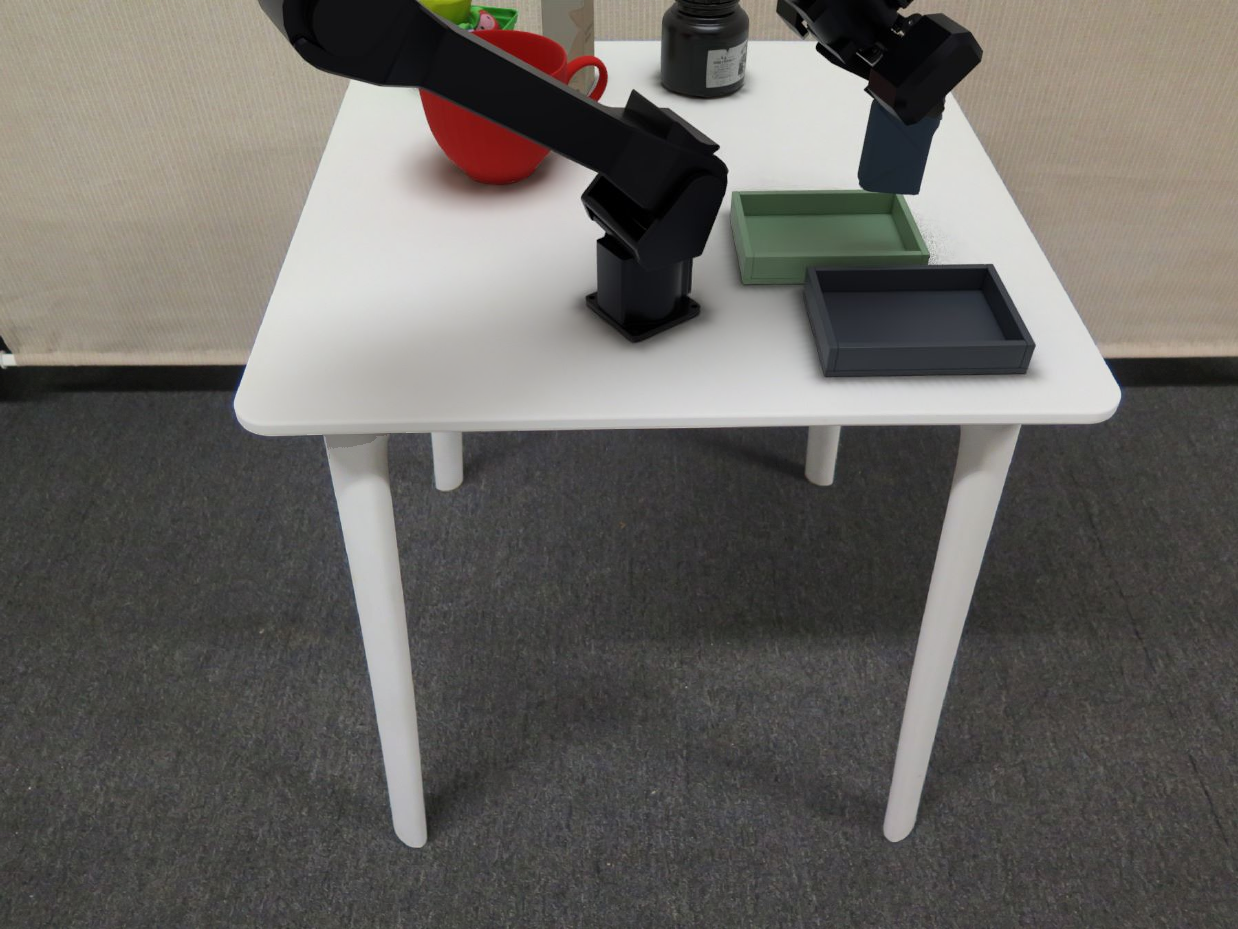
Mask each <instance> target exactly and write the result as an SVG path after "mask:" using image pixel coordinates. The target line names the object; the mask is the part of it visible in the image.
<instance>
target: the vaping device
mask: <svg viewBox="0 0 1238 929" xmlns="http://www.w3.org/2000/svg"><path fill="white" fill-rule="evenodd" d="M946 98H947V95H946V96H945V97H944V98H943V102H944V106H945V104H946V101H947V100H946ZM867 118H868V119H867V123H866V129H865V134H864V139H863V144H862V149H861V155H860V159H859V164H858V169H857V173H856V174H857V179H858V186H859V187H860V188H861V190H866V191H869V192H878V193H889V194H901V195H903V196H918V195H919V194H920V192H921V186H922V183H923V178H924V174H925V170H926V166H927V162H928V158H929V154H930V151H931V150H930V149H931V146H932V142H933V138H934V135H935V133H936V132H937V130H938V129H939V127H940V124H941V121H942V120H943V113H942V114H941V115H939V116H938V117H937V118H936V119H935V120H931V119H928V118H925V117H924V118H922V119H921V120H920V121H919V122H918V123H917V124H913V125H909V126H905V125H904V124H903V123H902V122H901V121H899V120H898V119H897V118H896V117H895V116H893V115H892V114H891V113H890V112H889V111H887V110H886V109H885V108H884V107H883V106H882V105H881V104H879V103H878V102H877V101H876V100H875V99H873V98H872V101H871V103H870V109H869V113H868V117H867Z"/></svg>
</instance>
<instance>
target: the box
mask: <svg viewBox="0 0 1238 929" xmlns="http://www.w3.org/2000/svg"><path fill="white" fill-rule="evenodd" d="M594 3H595V2H594V0H540V10H541V11H540V12H541V29H542V36H544V37H547V38H549V39H551V40H553V41H555V42H557V43H558V44H559V45H560V46H562V47H563V49H564V51H565V52H566V54H567V64H568V63H569V62H570V61H572V60H574V59H576V58H578V57H581V56H595V6H594V5H595V4H594ZM595 80H596V66H586V67H583V68H581V69H580V70H578V71H577V72H576V73H575V74H574V75H573V76H572V78H571V79H570V81H569V83H568V86H569V87H571V88H573V89H575V90H577V91H579V92H580V93H582V94H584V95H586V96H587V95H588V94H589V92H590V90H591V88H592V86H593V84H594V82H595Z"/></svg>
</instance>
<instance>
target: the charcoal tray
mask: <svg viewBox="0 0 1238 929" xmlns="http://www.w3.org/2000/svg"><path fill="white" fill-rule="evenodd" d="M802 297H803V301H804V305H805V308H806V312H807V316H808V319H809V323H810V327H811V330H812V334H813V337H814V341H815V346H816V348H817V352H818V356H819V360H820V364H821V367H822V371H823V374H824V377H878V376H879V377H880V376H938V375H940V376H944V375H945V376H947V375H1003V374H1004V375H1005V374H1006V375H1008V374H1027V372H1028V368H1029V366H1030V363H1031V361H1032V358H1033V355H1034V352H1035V349H1036V346H1037V345H1036V342H1035V340H1034V339H1033V336H1032V335H1031V333H1030V330H1029V329H1028V327H1027V325H1026V323H1025V321H1024V319H1023V318H1022V316H1021V314H1020V312H1019V310H1018V308H1017V306H1016V304H1015V303H1014V300H1013V299H1012V297H1011V295H1010V293H1009V291H1008V290H1007V288H1006V286H1005V284H1004V282H1003V280H1002V278H1001V276H1000V274H999V273H998V271H997V269H996V267H995V265H994V263H956V264H955V263H950V264H949V263H948V264H947V263H946V264H944V263H943V264H942V263H941V264H928V265H870V266H815V267H814V266H807V267H806V273H805V280H804V284H803V288H802Z"/></svg>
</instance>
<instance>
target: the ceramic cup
mask: <svg viewBox="0 0 1238 929" xmlns="http://www.w3.org/2000/svg"><path fill="white" fill-rule="evenodd" d="M471 33H472V34H474V35H476V36H478V37H480V38H482V39H483V40H485V41H487V42H489V43H491V44H493V45H494V46H496V47H498V48H500V49H502V50H504V51H505V52H507V53H509V54H511V55H513V56H514V57H516V58H518V59H520V60H522V61H524V62H525V63H527V64H529V65H531V66H533V67H535V68H536V69H538V70H540V71H542V72H544V73H546V74H547V75H549V76H551V77H553V78H555V79H557V80H558V81H560V82H562V83H564V84H566V85H568V83H569V81H570V79H571V78H572V76H573V75H574V74H575V73H576V72H577V71H578V70H580V69H581V68H583V67H586V66H595V68H597V70H598V79H597V83H596V85H595V86H594V88H593V90H592V91H591V92H590V94H589V95H588V97H590V98H591V99H593V100H595V101H597V102H599V101H600V100H601V98H602V96H603V95H604V93H605V91H606V88H607V86H608V82H609V73H608V69H607V67H606V65H605V63H604V62H603V60H601V59H600V58H599V57H598V56H595V55H594V56H581V57H578V58H576V59H574V60H572V61H570V62H569V63H568V64H567V54H566V52H565V51H564V49H563V47H562V46H560V45H559V44H558V43H557V42H555V41H553V40H551V39H549V38H547V37H544V36H543V35H541V34H538V33H533V32H529V31H523V30H515V29H514V30H480V31H471ZM418 93H419V98H420V101H421V106H422V108H423V113H424V116H425V118H426V122H427V124H428V127H429V130H430V132H431V134H432V136H433V138H434V139H435V141H436V143H437V145H438V146H439V147H440V149H441V150H442V151H443V152H444V154H445V155H446V157H447V158H448V159H449V160H450V161H451V162H453V163H454V165H456V167H457V168H459V169H460V170H462V171H463V172H464V173H465V174H466V175H467V176H468V177H469V178H470V179H471V180H474V181H477V182H480V183H483V184H491V185H505V184H512V183H516V182H519V181H522V180H525V179H526V178H528V177H530V176H531V175H532V174H534V172H535V171H536V169H537V168H538V166H540V164H541V163H542V162H543V161H544V160H545V159H546V157H547V156H548V155H549V153H550V152H551V150H549V149H547V148H544V147H542V146H540V145H538V144H536V143H534V142H532V141H530V140H528V139H526V138H524V137H522V136H519V135H517V134H515V133H513V132H511V131H509V130H507V129H505V128H503V127H501V126H499V125H496V124H494V123H492V122H490V121H488V120H486V119H484V118H482V117H480V116H478V115H476V114H474V113H471V112H469V111H467V110H465V109H463V108H461V107H459V106H457V105H455V104H453V103H451V102H448V101H446V100H444V99H442V98H440V97H438V96H436V95H434V94H432V93H430V92H428V91H425V90H421V89H418Z"/></svg>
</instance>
